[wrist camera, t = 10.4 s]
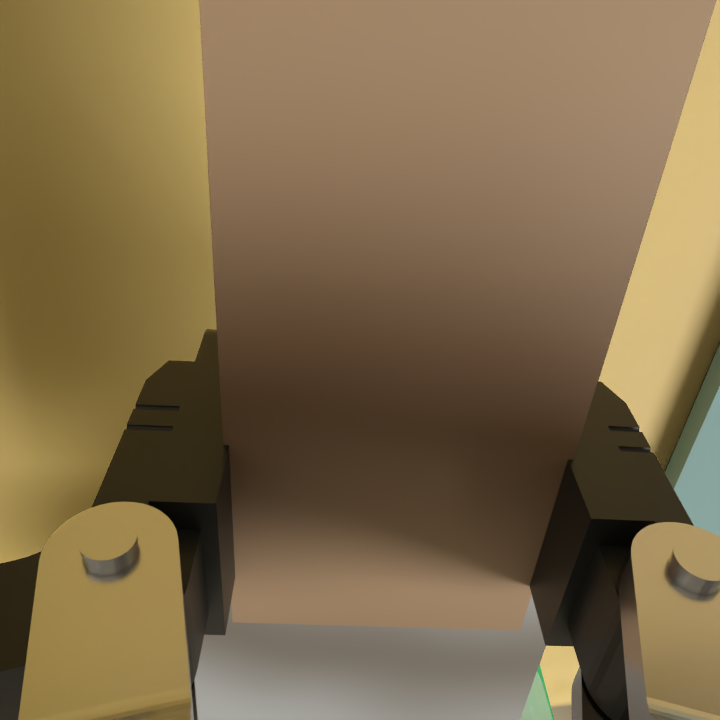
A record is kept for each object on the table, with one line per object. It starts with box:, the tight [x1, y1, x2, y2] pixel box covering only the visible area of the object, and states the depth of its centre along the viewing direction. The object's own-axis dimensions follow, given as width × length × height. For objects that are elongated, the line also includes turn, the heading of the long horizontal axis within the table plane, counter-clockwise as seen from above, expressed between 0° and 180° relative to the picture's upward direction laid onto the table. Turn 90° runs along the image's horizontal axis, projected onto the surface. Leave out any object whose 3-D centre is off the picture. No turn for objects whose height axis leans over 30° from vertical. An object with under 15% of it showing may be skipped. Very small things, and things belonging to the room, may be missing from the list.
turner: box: [195, 0, 716, 720], centre depth 11 cm, size 16×8×4 cm, turn 176°
